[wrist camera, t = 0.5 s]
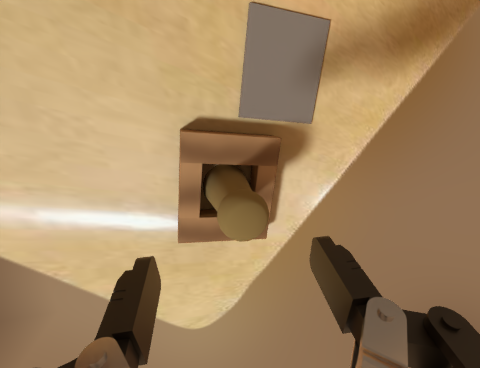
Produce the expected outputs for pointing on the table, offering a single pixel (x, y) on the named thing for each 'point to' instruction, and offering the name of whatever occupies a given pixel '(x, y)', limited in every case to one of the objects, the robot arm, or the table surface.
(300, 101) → the rubber mat
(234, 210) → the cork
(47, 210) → the table surface
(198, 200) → the socket block
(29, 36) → the table surface
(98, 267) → the table surface
